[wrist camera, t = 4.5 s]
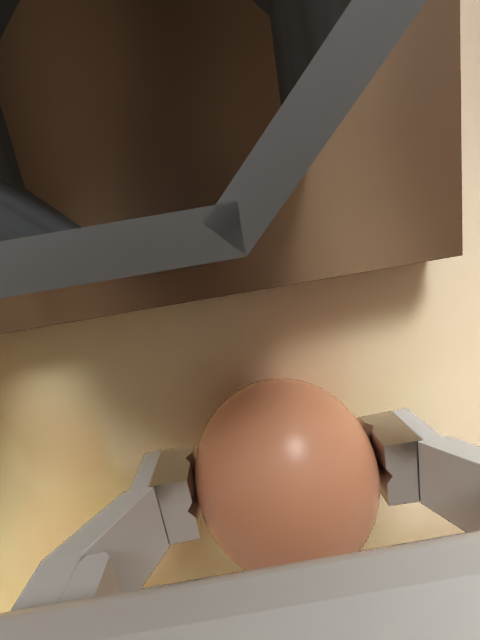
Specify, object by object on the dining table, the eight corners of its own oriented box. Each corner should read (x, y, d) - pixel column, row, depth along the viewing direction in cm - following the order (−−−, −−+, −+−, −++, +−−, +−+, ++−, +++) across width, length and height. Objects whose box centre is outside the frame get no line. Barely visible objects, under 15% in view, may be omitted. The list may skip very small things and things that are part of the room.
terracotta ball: (331, 345, 11) (420, 421, 6) (344, 468, 12) (430, 622, 7) (190, 369, 11) (157, 467, 6) (216, 491, 12) (207, 662, 7)
